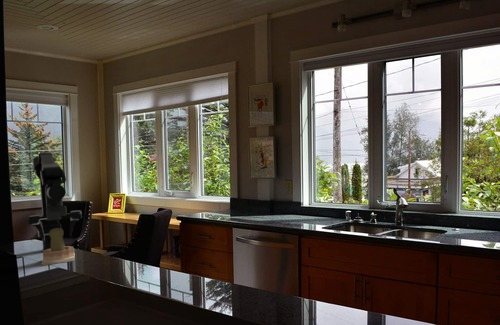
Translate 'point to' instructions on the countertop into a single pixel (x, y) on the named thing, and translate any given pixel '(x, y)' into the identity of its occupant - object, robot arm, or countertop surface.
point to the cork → (57, 239)
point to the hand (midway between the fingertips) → (57, 239)
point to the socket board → (58, 256)
